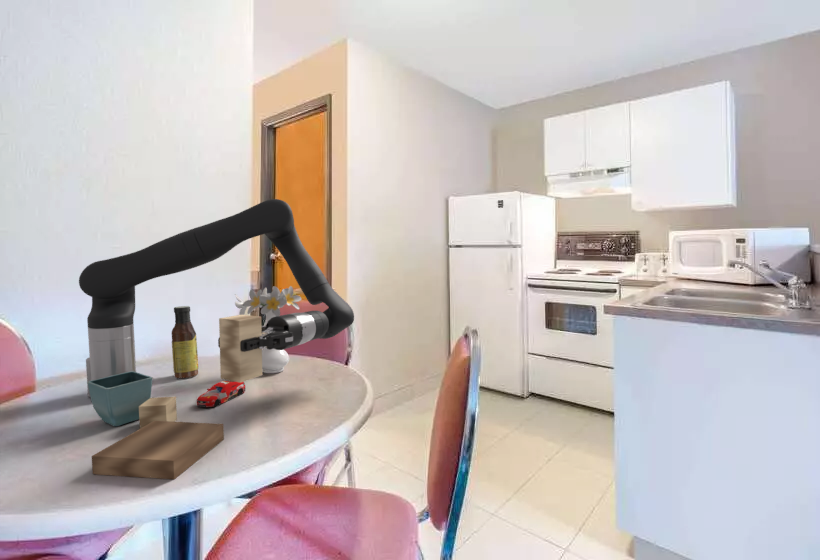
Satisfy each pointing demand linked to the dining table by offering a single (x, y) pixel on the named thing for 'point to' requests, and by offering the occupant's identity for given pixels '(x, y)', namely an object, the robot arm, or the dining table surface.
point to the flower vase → (270, 358)
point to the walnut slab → (158, 450)
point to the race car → (220, 393)
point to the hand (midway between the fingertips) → (230, 344)
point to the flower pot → (120, 396)
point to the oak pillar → (231, 357)
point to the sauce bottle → (184, 344)
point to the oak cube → (157, 410)
